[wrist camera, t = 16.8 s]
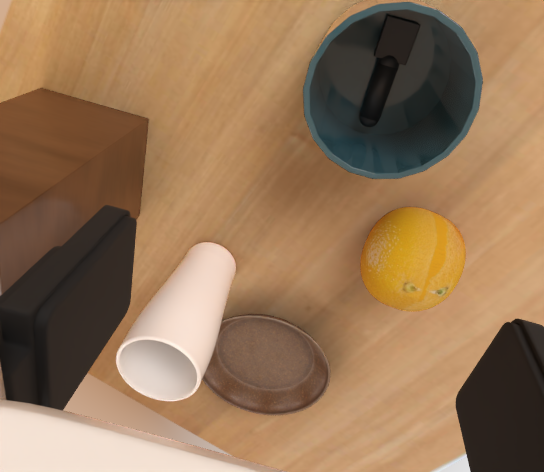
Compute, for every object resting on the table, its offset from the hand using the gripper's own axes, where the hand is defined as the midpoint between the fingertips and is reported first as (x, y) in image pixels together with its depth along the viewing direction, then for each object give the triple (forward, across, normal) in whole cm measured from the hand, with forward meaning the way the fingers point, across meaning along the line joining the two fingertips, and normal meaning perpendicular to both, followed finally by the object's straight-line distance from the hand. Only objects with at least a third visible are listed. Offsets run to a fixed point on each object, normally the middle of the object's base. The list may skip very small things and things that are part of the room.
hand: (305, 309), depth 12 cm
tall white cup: (+29, +7, +21) cm, 36 cm away
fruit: (+29, -10, +12) cm, 33 cm away
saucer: (+29, -1, +31) cm, 42 cm away
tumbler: (+29, -3, -1) cm, 29 cm away
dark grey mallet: (+28, -3, -1) cm, 29 cm away
